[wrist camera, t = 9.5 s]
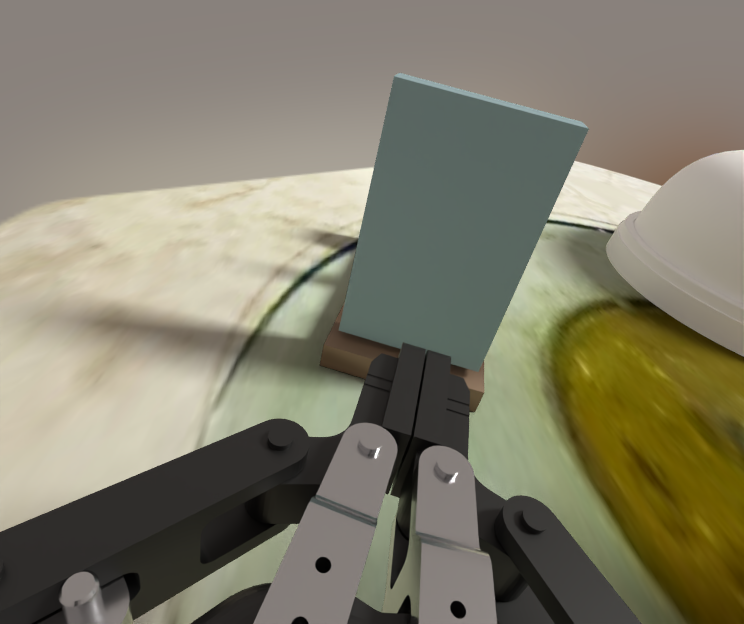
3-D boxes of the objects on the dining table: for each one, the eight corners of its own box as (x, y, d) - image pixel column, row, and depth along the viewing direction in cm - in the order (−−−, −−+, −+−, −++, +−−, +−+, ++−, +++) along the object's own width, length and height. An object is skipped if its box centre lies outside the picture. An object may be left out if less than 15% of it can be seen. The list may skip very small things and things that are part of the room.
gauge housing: (474, 412, 26) (512, 334, 23) (319, 365, 26) (336, 282, 23) (477, 269, 41) (499, 210, 38) (378, 240, 41) (392, 180, 38)
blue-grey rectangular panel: (478, 372, 26) (589, 128, 19) (338, 330, 26) (394, 76, 19) (478, 327, 29) (570, 110, 22) (356, 291, 30) (408, 67, 23)
